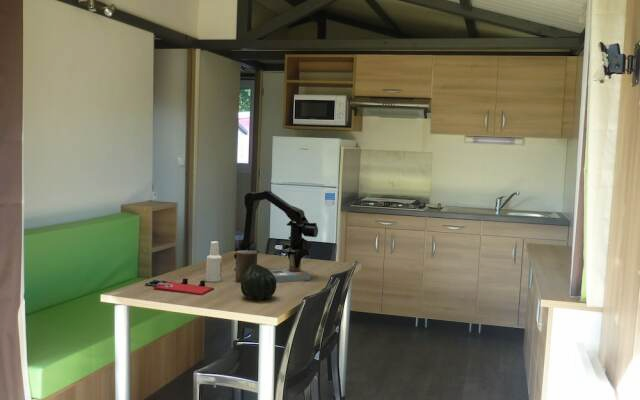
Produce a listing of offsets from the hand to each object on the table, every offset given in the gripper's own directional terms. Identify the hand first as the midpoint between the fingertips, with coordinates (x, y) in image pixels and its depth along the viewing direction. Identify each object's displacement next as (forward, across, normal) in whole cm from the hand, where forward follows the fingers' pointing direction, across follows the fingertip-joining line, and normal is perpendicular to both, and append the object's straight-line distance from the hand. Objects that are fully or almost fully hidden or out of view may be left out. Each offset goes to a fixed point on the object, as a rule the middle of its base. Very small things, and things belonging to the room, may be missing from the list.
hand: (294, 267), depth 288 cm
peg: (+4, 0, 0) cm, 4 cm away
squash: (+5, -32, +32) cm, 46 cm away
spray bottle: (+5, +4, +40) cm, 40 cm away
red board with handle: (+6, -4, +58) cm, 59 cm away
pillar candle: (+5, 0, +26) cm, 26 cm away
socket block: (+5, -2, +4) cm, 7 cm away
